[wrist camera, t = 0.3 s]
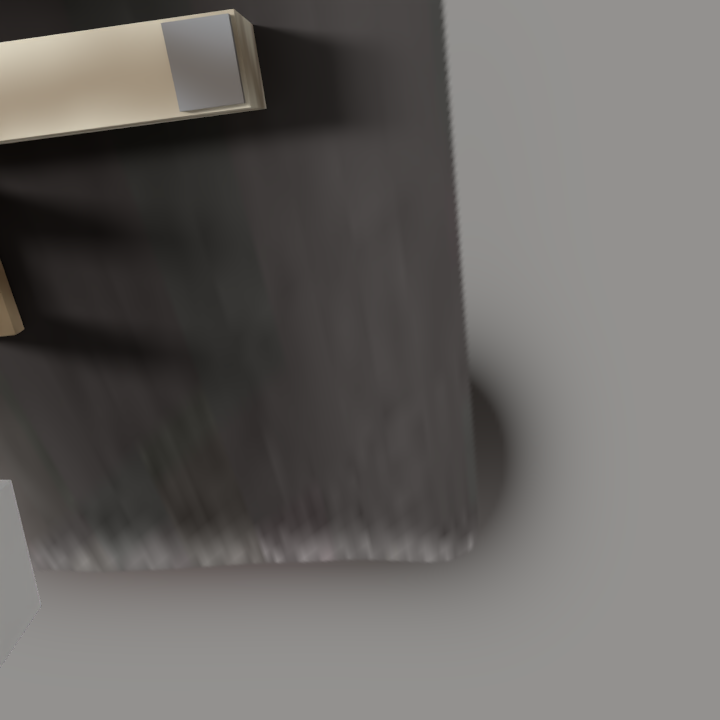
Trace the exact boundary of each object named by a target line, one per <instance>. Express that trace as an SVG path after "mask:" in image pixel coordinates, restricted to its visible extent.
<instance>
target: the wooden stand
mask: <svg viewBox="0 0 720 720" xmlns="http://www.w3.org/2000/svg"><path fill="white" fill-rule="evenodd" d="M23 330H24V326H23V323H22V320H21V317H20V315H19V312H18V309H17V306H16V303H15V300H14V297H13V294H12V292H11V289H10V286H9V283H8V280H7V277H6V274H5V271H4V268H3V266H2V263H1V260H0V337H1V336H10V335H16V334H18V333H20V332H21V331H23Z"/></svg>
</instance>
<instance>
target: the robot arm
mask: <svg viewBox="0 0 720 720" xmlns="http://www.w3.org/2000/svg"><path fill="white" fill-rule="evenodd" d="M40 608H41V601H40V597H39V593H38V589H37V585H36V580H35V576H34V572H33V568H32V564H31V560H30V556H29V552H28V548H27V543H26V539H25V535H24V531H23V527H22V523H21V519H20V515H19V510H18V506H17V502H16V498H15V494H14V490H13V486H12V482H11V480H0V667H1V666H2V665H3V663H4V662H5V660H6V659H7V657H8V656H9V654H10V653H11V651H12V650H13V648H14V646H15V645H16V643H17V642H18V641H19V639H20V638H21V636H22V635H23V633H24V632H25V630H26V629H27V627H28V626H29V624H30V623H31V621H32V620H33V618H34V617H35V615H36V614H37V612H38V611H39V609H40Z"/></svg>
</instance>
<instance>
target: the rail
mask: <svg viewBox="0 0 720 720" xmlns="http://www.w3.org/2000/svg"><path fill="white" fill-rule="evenodd" d="M261 109H267V108H266V102H265V96H264V90H263V84H262V78H261V72H260V66H259V60H258V54H257V47H256V41H255V35H254V29H253V24H251V23H250V22H249V21H248V20H247V19H245V18H244V17H243V16H242V15H240V14H239V13H238V12H237V11H235V10H234V9H230V10H223V11H216V12H209V13H203V14H196V15H189V16H182V17H175V18H168V19H161V20H154V21H147V22H140V23H133V24H126V25H119V26H112V27H105V28H99V29H92V30H85V31H78V32H71V33H64V34H57V35H50V36H43V37H36V38H29V39H22V40H15V41H8V42H1V43H0V144H8V143H15V142H23V141H30V140H37V139H45V138H52V137H60V136H67V135H75V134H82V133H90V132H97V131H104V130H112V129H119V128H127V127H134V126H142V125H149V124H156V123H164V122H171V121H179V120H186V119H194V118H201V117H209V116H216V115H223V114H231V113H238V112H246V111H253V110H261Z"/></svg>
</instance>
